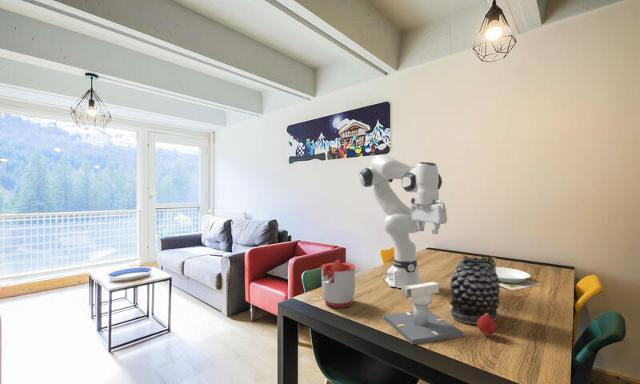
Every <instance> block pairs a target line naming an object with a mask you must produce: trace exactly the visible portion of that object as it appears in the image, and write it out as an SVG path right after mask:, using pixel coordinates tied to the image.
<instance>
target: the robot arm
mask: <svg viewBox="0 0 640 384" xmlns="http://www.w3.org/2000/svg"><path fill="white" fill-rule="evenodd" d="M370 164H371V165H370V166H369V167H365V168H363V170H361V171H360V172H359V175H358V177H359V178H358V179H359V182H360V184H361V185H362V186H363V187H365V188H369V187H372V193H373V196H374V198H375V200H376V202H377V203H378V205H379V206H380V207H381V209H382V211H384V213H385V214H386V215H387V216H386V217H385V218H384V219H383V228H384V231H385V232H386V233H387V234H388V235H389V236H390V237H391V239H392V243H393V251H394V258H393V259H392V265H391V266H390V267H389V268H388V269H386V270H387V271H386V272H385V274H386V276H385V277H387V278H386V279H385V281H386V282H387V283H388V285H389V286H393V287H398V288H401V287H404V286H410V285H416V284H422V282H421V281H420V273H419V269H418V268H417V267H418V261H417V251H416V249H417V246H416V244H415V243H414V242H413V241H411V239H410V234H414V233H418V232H425V227H426V223H430V224H431V223H432V224H433V228H432V229H431V234H433V235H439V229H440V227H441V225H445V224H447V223H448V222H447V221H448V216H447V215H448V213H447V208H446V205H445V203H444V202H443V200H440V196H439V194H440V192H439V190H440V189H441V187H442V186H443V180H442V176H441V175H440V173H439V170H438V166H437V164H436V163H434V162H430V161H429V162H427V161H425V162H424V161H420V162H418V163H417V165H416V166H415V167H414V166H411V165H409V164H406V163H403V162H401V161H399V160H398V159H395V158H393V157H391V156H388V155H383V154H378V155H377V154H376V155H375V156H374V157H373V158H372V159H371V162H370ZM394 180H401V186H402V188H403V190H404V191H406V192H408V193H416V195H415V196H414V197H412V198H411V199H410V200H409V203H410V207H408V206H407V205H406V204H405V203H404V202H403V201H402V200H401V199H400V197H398V195H397V194H396V192H395V191H394V190H393V189H392V188H391V186H390V183H392V182H393V181H394ZM388 285H387V286H388ZM389 286H388V287H389ZM398 288H397V289H398Z"/></svg>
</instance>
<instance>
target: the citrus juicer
mask: <svg viewBox="0 0 640 384" xmlns="http://www.w3.org/2000/svg"><path fill="white" fill-rule="evenodd" d="M320 268H321V291H322V295H323V300H324V302H325V304H326V305H327V304H328V305H330V306H329V307H331V306H333V307H332V308H337V307H342V308H346V307H345V306H347V307H349V306H350V304H352V302H353V301H354V295H355V290H356V276H355V275H356V274H355V271H356V266H355V264H352V263H348V262H342V261H341V260H340V259H336V260H335V261H334V262H327V263H324V264H321V266H320ZM328 305H327V306H328Z"/></svg>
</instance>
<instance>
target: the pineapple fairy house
mask: <svg viewBox="0 0 640 384" xmlns="http://www.w3.org/2000/svg"><path fill="white" fill-rule="evenodd" d="M498 261H499V260H498V259H497V258H496V257H494V256H492V255H491V256H489V257H488V258H487V257H484V256H481V258H478V257H474V255H473V256H472V258H471V257H468V256H467V255H464V256H463V259H462V261H460V262H459V263H458V265H456V269H455V270H454V271H453V273H452V274H453V275H452V276H450V282H449V284H450V285H449V287H448V289H450V290H451V295H452V297H451V299H449V300H448V304H449V305H450V306H452V308H451V309H450V313H451V316H452V317H453V319H455V320H457V321H459V322H461V323H466V324H474V325H477V322H478V319H479V318H480V317H481V316H483V315H484V314H486V313H488V315H489V316H490V317H491V318H492V319H493V320H494V321H496V319H497V317H498V311H497V310H498V308H499V304H500V301H499V300H500V299H501V298H500V293H501V290H500V288H501V285H500V282H499V279H498V275H497V274H496V267H497V263H498Z"/></svg>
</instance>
